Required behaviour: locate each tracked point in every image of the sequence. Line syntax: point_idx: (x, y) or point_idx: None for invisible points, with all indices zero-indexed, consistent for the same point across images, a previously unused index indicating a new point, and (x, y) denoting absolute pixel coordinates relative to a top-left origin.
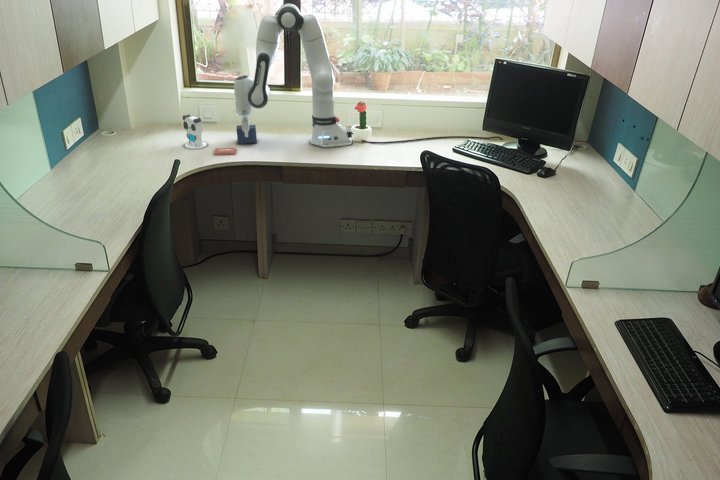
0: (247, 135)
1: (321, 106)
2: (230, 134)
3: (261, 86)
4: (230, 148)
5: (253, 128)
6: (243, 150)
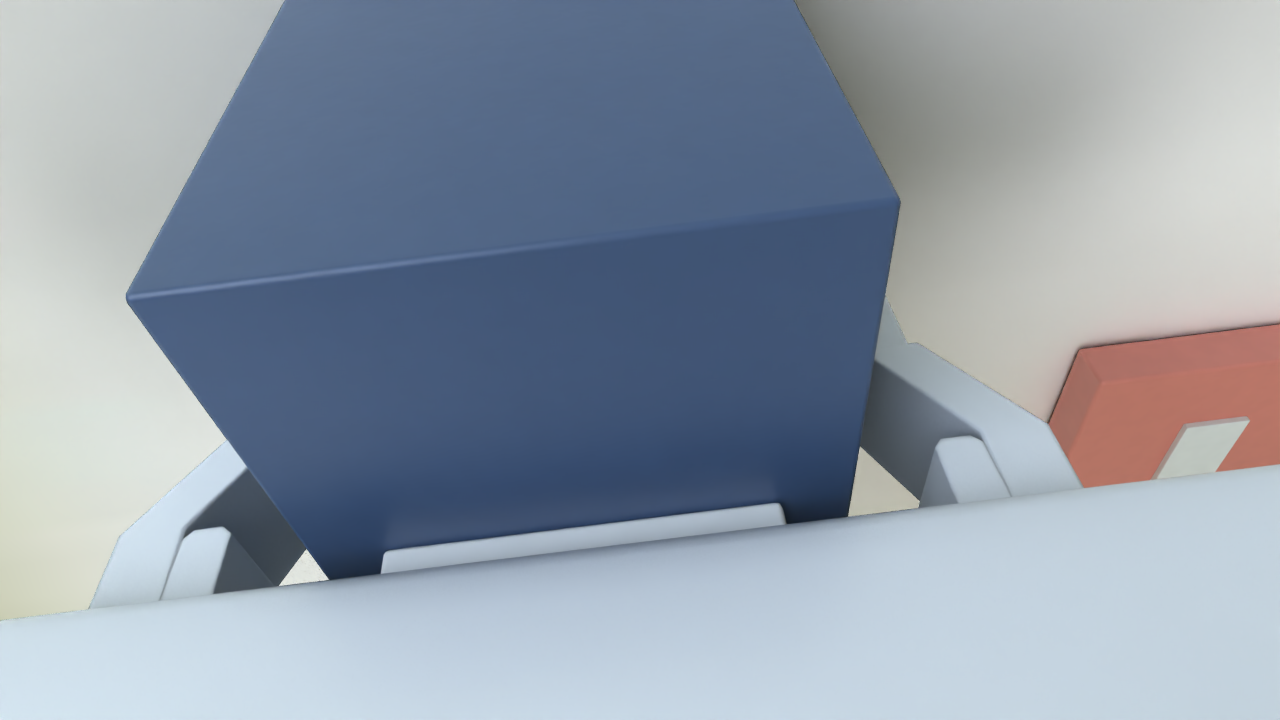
0: (885, 319)
1: None
2: (111, 541)
3: None
4: (1124, 437)
5: (879, 301)
6: (1207, 189)
